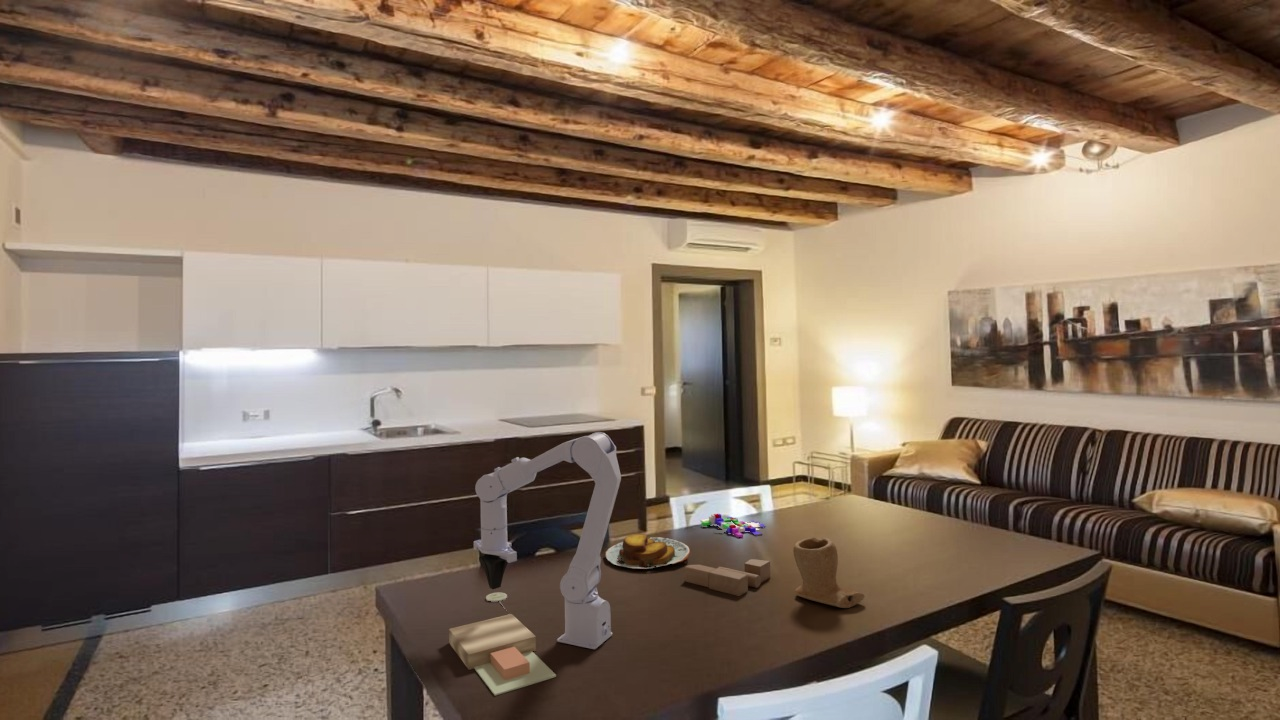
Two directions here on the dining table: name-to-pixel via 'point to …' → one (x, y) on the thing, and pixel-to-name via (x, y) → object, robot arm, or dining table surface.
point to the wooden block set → (729, 576)
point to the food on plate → (647, 551)
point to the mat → (502, 686)
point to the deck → (490, 639)
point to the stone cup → (822, 574)
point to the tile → (509, 663)
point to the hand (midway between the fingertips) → (495, 587)
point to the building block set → (732, 528)
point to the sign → (496, 597)
